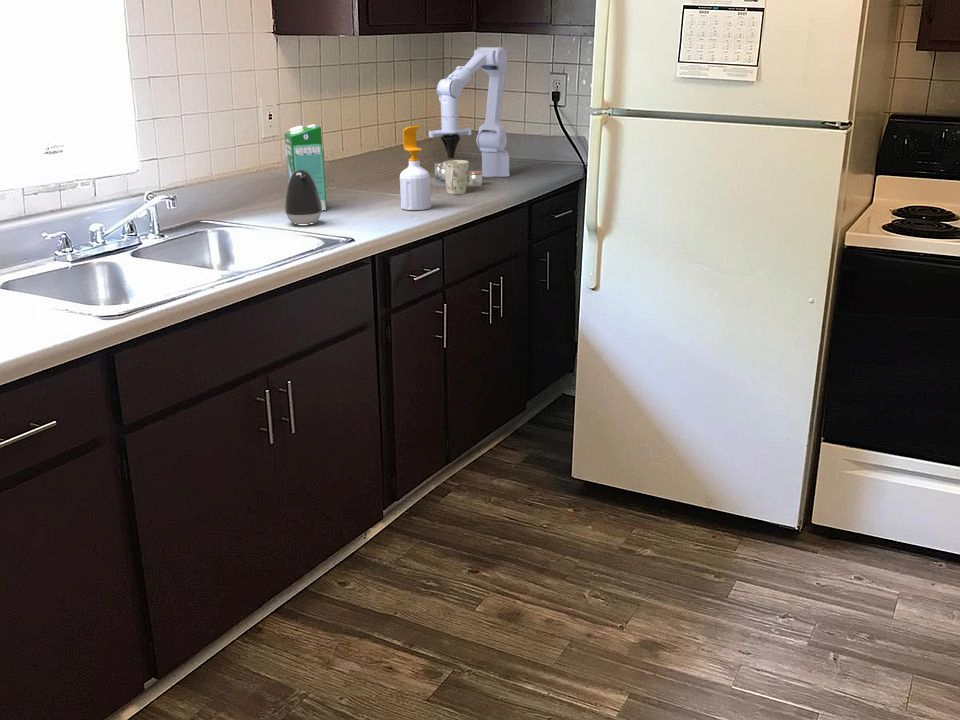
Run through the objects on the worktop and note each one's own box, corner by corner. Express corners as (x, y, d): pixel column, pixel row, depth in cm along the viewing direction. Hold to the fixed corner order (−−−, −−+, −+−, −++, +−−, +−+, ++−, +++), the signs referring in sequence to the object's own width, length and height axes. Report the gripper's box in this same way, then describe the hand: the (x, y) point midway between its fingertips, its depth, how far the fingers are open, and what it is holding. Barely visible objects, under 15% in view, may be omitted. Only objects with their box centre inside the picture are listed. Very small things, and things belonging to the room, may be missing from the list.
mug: (470, 190, 323) (469, 160, 319) (466, 197, 311) (465, 165, 308) (445, 190, 324) (444, 160, 320) (440, 197, 312) (439, 165, 308)
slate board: (455, 177, 348) (455, 176, 347) (470, 185, 331) (470, 183, 331) (423, 180, 344) (423, 178, 344) (436, 188, 328) (436, 186, 328)
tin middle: (450, 179, 341) (449, 164, 339) (453, 181, 337) (453, 166, 335) (437, 180, 340) (437, 165, 338) (441, 182, 336) (440, 167, 334)
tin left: (445, 176, 346) (445, 162, 344) (449, 178, 342) (448, 164, 340) (433, 177, 345) (432, 163, 343) (436, 179, 341) (436, 164, 339)
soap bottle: (408, 212, 289) (404, 127, 281) (396, 207, 297) (392, 125, 289) (435, 209, 293) (433, 125, 285) (423, 204, 301) (420, 123, 293)
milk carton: (290, 209, 298) (283, 125, 289) (319, 206, 301) (313, 123, 293) (297, 214, 290) (290, 128, 282) (327, 211, 293) (321, 126, 285)
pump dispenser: (291, 229, 270) (286, 173, 265) (282, 222, 279) (278, 168, 274) (327, 225, 274) (323, 171, 269) (317, 218, 283) (313, 166, 278)
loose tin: (480, 185, 332) (480, 170, 330) (484, 187, 328) (484, 172, 326) (467, 186, 330) (467, 171, 329) (471, 188, 326) (471, 173, 325)
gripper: (465, 114, 330) (466, 154, 335) (425, 116, 325) (426, 157, 329) (473, 116, 324) (474, 157, 329) (432, 118, 319) (434, 160, 323)
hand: (450, 157), depth 328 cm, fingers closed
